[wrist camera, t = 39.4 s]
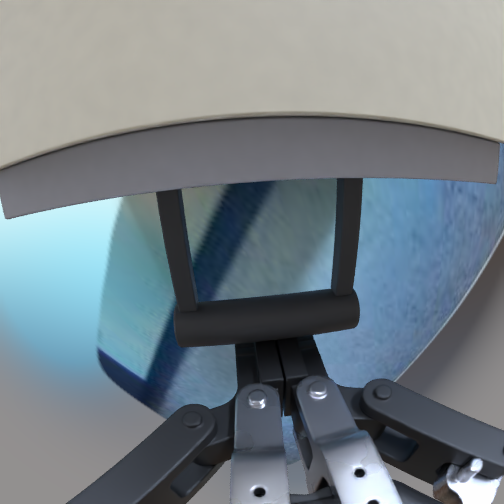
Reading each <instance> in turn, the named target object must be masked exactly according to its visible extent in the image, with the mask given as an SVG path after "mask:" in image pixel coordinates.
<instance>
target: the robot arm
mask: <svg viewBox="0 0 504 504" xmlns="http://www.w3.org/2000/svg"><path fill="white" fill-rule="evenodd" d="M235 352H236V368H237V383H238V389H237V392H236V394H235V396H234V397H233V398H232V399H231V400H230V401H229V402H227V403H226V404H224V405H221V406H218V407H215V408H212V409H209V408H207V407H206V406H203V405H200V404H189V405H185V406H183V407H181V408H179V409H178V410H177V411H176V412H175V413H173V414H172V415H171V416H170V417H169V418H168V419H167V420H166V421H165V422H164V423H163V424H162V425H160V426H159V427H158V428H157V429H156V430H155V431H154V432H153V433H152V434H151V435H150V436H148V437H147V438H146V439H145V440H144V441H142V442H141V443H140V444H139V445H138V446H137V447H136V448H134V449H133V450H132V451H131V452H130V453H129V454H127V455H126V456H125V457H124V458H123V459H122V460H120V461H119V462H118V463H117V464H116V465H114V466H113V467H112V468H111V469H110V470H108V471H107V472H106V473H105V474H103V475H102V476H101V477H100V478H99V479H97V480H96V481H95V482H93V483H92V484H91V485H90V486H88V487H87V488H86V489H84V490H83V491H82V492H81V493H79V494H78V495H77V496H75V497H74V498H73V499H71V500H70V501H69V502H67V503H66V504H186V503H187V502H188V501H189V500H190V499H191V498H192V497H193V496H194V495H195V494H196V493H197V492H198V491H199V490H200V489H201V488H202V487H203V486H204V485H205V484H206V483H207V481H208V480H209V479H210V478H211V477H212V476H213V475H214V474H215V473H216V472H217V470H218V469H219V468H220V467H221V466H222V465H223V464H224V462H225V461H227V460H230V459H231V479H230V480H231V481H230V504H492V501H493V499H494V497H495V494H496V492H497V489H498V487H499V484H500V481H501V479H502V477H503V476H504V431H503V430H501V429H498V428H496V427H493V426H491V425H488V424H486V423H484V422H481V421H478V420H476V419H474V418H471V417H469V416H467V415H464V414H462V413H460V412H457V411H455V410H453V409H451V408H448V407H446V406H444V405H442V404H440V403H437V402H435V401H433V400H431V399H429V398H427V397H424V396H422V395H420V394H418V393H415V392H414V391H412V390H409V389H407V388H405V387H403V386H401V385H399V384H397V383H395V382H393V381H391V380H388V379H375V380H372V381H370V382H369V383H367V384H366V385H365V387H364V388H351V387H343V386H340V385H338V384H336V383H335V382H334V381H333V380H332V379H330V378H329V377H328V375H327V372H326V370H325V367H324V364H323V362H322V359H321V356H320V354H319V351H318V348H317V347H316V343H315V340H314V338H313V335H309V336H302V337H295V338H287V339H279V340H270V341H261V342H251V343H241V344H235ZM283 411H284V416H290V415H291V416H292V421H293V435H294V438H295V441H296V444H297V448H298V451H299V454H300V457H301V460H302V464H303V467H304V470H305V474H306V483H307V488H308V491H309V494H307V495H300V494H299V495H298V494H289V483H288V473H287V472H288V471H287V460H286V452H285V449H284V442H283V431H282V421H281V417H282V416H283ZM383 461H384V462H386V463H388V464H390V465H392V466H394V467H396V468H398V469H400V470H402V471H404V472H406V473H408V474H410V475H412V476H414V477H416V478H418V479H421V480H423V481H425V482H427V483H429V484H432V485H433V496H434V498H435V499H438V500H439V501H438V500H435V499H433V498H431V497H429V496H427V495H425V494H423V493H420V492H419V491H417V490H415V489H413V488H411V487H409V486H407V485H406V484H404V483H402V482H399V481H396V480H393V479H391V477H390V475H389V473H388V470H387V468H386V466H385V464H384V462H383ZM440 501H441V502H440Z"/></svg>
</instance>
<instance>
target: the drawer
mask: <svg viewBox="0 0 504 504" xmlns="http://www.w3.org/2000/svg"><path fill="white" fill-rule="evenodd" d="M499 149H500V144H499V143H498V142H496V141H492V140H489V139H485V138H481V137H477V136H472V135H468V134H464V133H459V132H454V131H449V130H444V129H439V128H433V127H427V126H421V125H414V124H407V123H400V122H392V121H382V120H372V119H360V118H345V117H322V116H270V117H247V118H232V119H220V120H209V121H200V122H191V123H183V124H176V125H169V126H162V127H156V128H150V129H144V130H139V131H134V132H128V133H123V134H119V135H114V136H109V137H105V138H101V139H97V140H93V141H89V142H85V143H81V144H77V145H73V146H70V147H66V148H63V149H59V150H56V151H53V152H50V153H46V154H43V155H40V156H37V157H34V158H31V159H28V160H26V161H23V162H20V163H17V164H15V165H12V166H9V167H7V168H4V169H2V170H0V198H1V203H2V207H3V212H4V215H5V218H6V219H11V218H16V217H19V216H24V215H28V214H33V213H37V212H42V211H46V210H51V209H55V208H60V207H66V206H71V205H76V204H81V203H87V202H92V201H98V200H104V199H110V198H116V197H123V196H129V195H136V194H143V193H150V192H156V195H157V202H158V208H159V215H160V221H161V226H162V232H163V238H164V243H165V248H166V254H167V259H168V264H169V269H170V273H171V278H172V283H173V287H174V292H175V296H176V301H177V304H176V306H175V309H174V331H175V336H176V340H177V343H178V345H179V346H180V347H200V346H216V345H229V344H241V343H251V342H261V341H270V340H279V339H287V338H295V337H302V336H309V335H316V334H322V333H329V332H335V331H341V330H347V329H352V328H355V327H356V326H357V325H358V322H359V317H360V307H359V301H358V297H357V294H356V292H355V290H354V289H353V283H354V276H355V268H356V259H357V250H358V240H359V230H360V217H361V203H362V184H363V178H407V179H433V180H451V181H466V182H478V183H489V184H496V182H497V174H498V163H499ZM323 178H337V201H336V224H335V242H334V256H333V269H332V280H331V288H332V289H324V290H316V291H308V292H299V293H290V294H281V295H272V296H262V297H251V298H241V299H229V300H218V301H205V302H198V295H197V289H196V284H195V278H194V272H193V266H192V260H191V254H190V248H189V241H188V235H187V228H186V221H185V214H184V206H183V199H182V191H181V189H183V188H191V187H201V186H211V185H222V184H233V183H246V182H260V181H276V180H296V179H323Z"/></svg>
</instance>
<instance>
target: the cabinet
mask: <svg viewBox="0 0 504 504" xmlns="http://www.w3.org/2000/svg"><path fill="white" fill-rule="evenodd" d="M270 116H322V117H345V118H360V119H372V120H382V121H392V122H400V123H407V124H414V125H421V126H427V127H433V128H439V129H444V130H449V131H454V132H459V133H464V134H468V135H472V136H477V137H481V138H485V139H489V140H492V141H496V142H499V143H503V144H504V0H0V170H2V169H4V168H7V167H9V166H12V165H15V164H17V163H20V162H23V161H26V160H28V159H31V158H34V157H37V156H40V155H43V154H46V153H50V152H53V151H56V150H59V149H63V148H66V147H70V146H73V145H77V144H81V143H85V142H89V141H93V140H97V139H101V138H105V137H109V136H114V135H119V134H123V133H128V132H134V131H139V130H144V129H150V128H156V127H162V126H169V125H176V124H183V123H191V122H200V121H209V120H220V119H232V118H247V117H270Z"/></svg>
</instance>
